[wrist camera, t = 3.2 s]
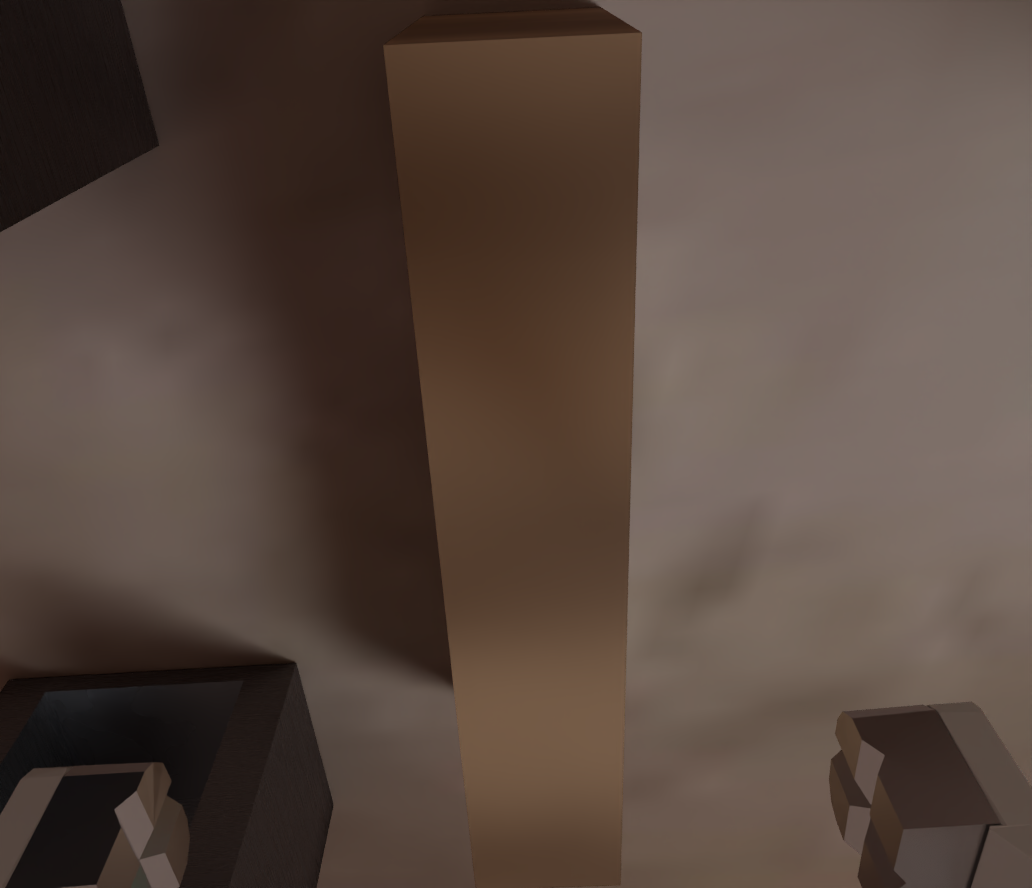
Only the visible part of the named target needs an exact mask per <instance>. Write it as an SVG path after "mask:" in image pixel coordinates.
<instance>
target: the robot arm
mask: <svg viewBox="0 0 1032 888" xmlns="http://www.w3.org/2000/svg"><path fill="white" fill-rule="evenodd" d="M835 734H836V737H837V739H838V742H839V744H840V746H841V749H842V750H841V751H840V752H839V753H837V754H836V755H835V756H834V757H833V758H832V759H831V766H830V775H829V783H830V793H831V802H832V806H833V810H834V814H835V817H836V821H837V824H838V826H839V829H840V832H841V835H842V837H843V840H844V841H845V842H846V843H847V844H848V845H849V846H851V847H852V848H853V849H854V850H856V851H857V852H858V853H859V854H860V855H862V856H861V861H860V867H859V872H858V879H859V881H860V884H861V886H862V888H1032V787H1031V785H1030V784H1029V782H1028V781H1027V779H1026V778H1025V776H1024V775H1023V773H1022V771H1021V770H1020V768H1019V767H1018V765H1017V764H1016V762H1015V761H1014V759H1013V758H1012V756H1011V754H1010V753H1009V751H1008V750H1007V748H1006V747H1005V745H1004V744H1003V742H1002V740H1001V739H1000V737H999V736H998V734H997V733H996V731H995V730H994V728H993V726H992V725H991V723H990V722H989V720H988V719H987V717H986V716H985V714H984V712H983V711H982V709H981V708H980V707H978V706H977V705H976V704H974V703H973V702H961V703H947V704H934V705H927V706H925V705H913V706H901V707H889V708H877V709H866V710H854V711H843V712H842V713H841V715H840V716H839V718H838V720H837V726H836V732H835ZM171 781H172V780H171V778H170V776H169V774H168V772H167V770H166V768H165V766H164V764H163V763H157V762H150V763H127V764H105V765H83V766H69V767H51V768H34V769H32V770H31V771H30V772H29V773H28V774H27V775H25V776H24V777H23V778H22V779H21V780H20V781H19V783H18V785H17V787H16V788H15V790H14V792H13V794H12V795H11V797H10V799H9V801H8V802H7V804H6V806H5V808H4V809H3V811H2V813H1V815H0V888H179V887H180V884H181V881H182V878H183V875H184V872H185V868H186V865H187V860H188V851H189V841H190V834H189V827H188V819H187V817H186V814H185V812H184V809H183V806H182V805H181V804H179V803H178V802H176V801H175V800H173V799H172V798H170V797H169V796H167V792H168V789H169V787H170V784H171Z"/></svg>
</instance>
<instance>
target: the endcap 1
mask: <svg viewBox="0 0 1032 888" xmlns="http://www.w3.org/2000/svg"><path fill="white" fill-rule="evenodd" d="M157 146H159V144H158V140H157V137H156V133H155V129H154V125H153V121H152V118H151V114H150V110H149V106H148V103H147V99H146V95H145V91H144V87H143V84H142V80H141V76H140V72H139V69H138V65H137V61H136V57H135V53H134V50H133V46H132V42H131V38H130V35H129V31H128V27H127V23H126V20H125V16H124V12H123V8H122V4H121V1H120V0H0V232H2V231H3V230H5V229H7V228H9V227H11V226H13V225H14V224H16V223H18V222H20V221H22V220H24V219H25V218H27V217H29V216H31V215H33V214H34V213H36V212H38V211H40V210H42V209H44V208H45V207H47V206H49V205H51V204H53V203H55V202H56V201H58V200H60V199H62V198H64V197H66V196H67V195H69V194H71V193H73V192H75V191H77V190H78V189H80V188H82V187H84V186H86V185H88V184H89V183H91V182H93V181H95V180H97V179H99V178H100V177H102V176H104V175H106V174H108V173H109V172H111V171H113V170H115V169H117V168H119V167H120V166H122V165H124V164H126V163H128V162H130V161H131V160H133V159H135V158H137V157H139V156H141V155H142V154H144V153H146V152H148V151H150V150H152V149H153V148H155V147H157Z"/></svg>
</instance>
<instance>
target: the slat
mask: <svg viewBox="0 0 1032 888" xmlns="http://www.w3.org/2000/svg"><path fill="white" fill-rule="evenodd" d="M383 49H384V58H385V67H386V76H387V85H388V94H389V104H390V113H391V122H392V131H393V140H394V149H395V158H396V167H397V176H398V185H399V195H400V204H401V213H402V222H403V231H404V240H405V249H406V258H407V267H408V277H409V286H410V295H411V304H412V313H413V322H414V331H415V340H416V349H417V358H418V368H419V377H420V386H421V395H422V404H423V413H424V422H425V431H426V440H427V450H428V459H429V468H430V477H431V486H432V495H433V504H434V513H435V522H436V532H437V541H438V550H439V559H440V568H441V577H442V586H443V595H444V604H445V613H446V623H447V632H448V641H449V650H450V659H451V668H452V677H453V686H454V695H455V705H456V714H457V723H458V732H459V741H460V750H461V759H462V768H463V777H464V786H465V796H466V805H467V814H468V823H469V832H470V841H471V850H472V859H473V868H474V878H475V887H476V888H550V887H581V886H613V885H620V884H621V844H622V805H623V765H624V725H625V685H626V645H627V606H628V566H629V526H630V486H631V446H632V407H633V367H634V327H635V287H636V247H637V208H638V168H639V128H640V88H641V49H642V32H640V31H639V30H637V29H635V28H634V27H632V26H630V25H629V24H627V23H626V22H624V21H622V20H621V19H619V18H617V17H616V16H614V15H613V14H611V13H609V12H608V11H606V10H604V9H603V8H601V7H593V8H573V9H553V10H533V11H513V12H493V13H473V14H453V15H433V16H423V17H421V18H420V19H419V20H417V21H416V22H414V23H413V24H412V25H410V26H409V27H408V28H406V29H405V30H403V31H402V32H401V33H399V34H398V35H397V36H395V37H394V38H392V39H391V40H390V41H388V42H387V43H386V44H384V45H383Z"/></svg>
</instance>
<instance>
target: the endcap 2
mask: <svg viewBox="0 0 1032 888" xmlns="http://www.w3.org/2000/svg"><path fill="white" fill-rule="evenodd" d="M150 762H157V763H163V764H164V766H165V768H166V770H167V772H168V774H169V776H170V778H171V780H172V781H171V784H170V787H169V789H168V792H167V796H169V797H170V798H172V799H173V800H175V801H176V802H178V803H179V804H181V805H182V806H183V809H184V812H185V814H186V817H187V819H188V827H189V834H190V841H189V851H188V860H187V865H186V868H185V872H184V875H183V878H182V881H181V884H180V887H179V888H316V887H317V882H318V877H319V873H320V868H321V863H322V858H323V853H324V848H325V844H326V839H327V834H328V829H329V824H330V819H331V815H332V810H333V801H332V797H331V793H330V790H329V786H328V782H327V778H326V774H325V771H324V767H323V763H322V759H321V756H320V752H319V748H318V744H317V740H316V737H315V733H314V729H313V725H312V722H311V718H310V714H309V710H308V707H307V703H306V699H305V695H304V691H303V688H302V684H301V680H300V676H299V673H298V669H297V665H296V663H292V664H275V665H258V666H241V667H223V668H206V669H189V670H172V671H155V672H137V673H120V674H103V675H86V676H69V677H51V678H34V679H17V680H8V682H7V683H6V685H5V686H4V688H3V689H2V691H1V692H0V815H1V813H2V811H3V809H4V808H5V806H6V804H7V802H8V801H9V799H10V797H11V795H12V794H13V792H14V790H15V788H16V787H17V785H18V783H19V781H20V780H21V779H22V778H23V777H24V776H25V775H27V774H28V773H29V772H30V771H31V770H32V769H34V768H51V767H69V766H83V765H105V764H127V763H150Z"/></svg>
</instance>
